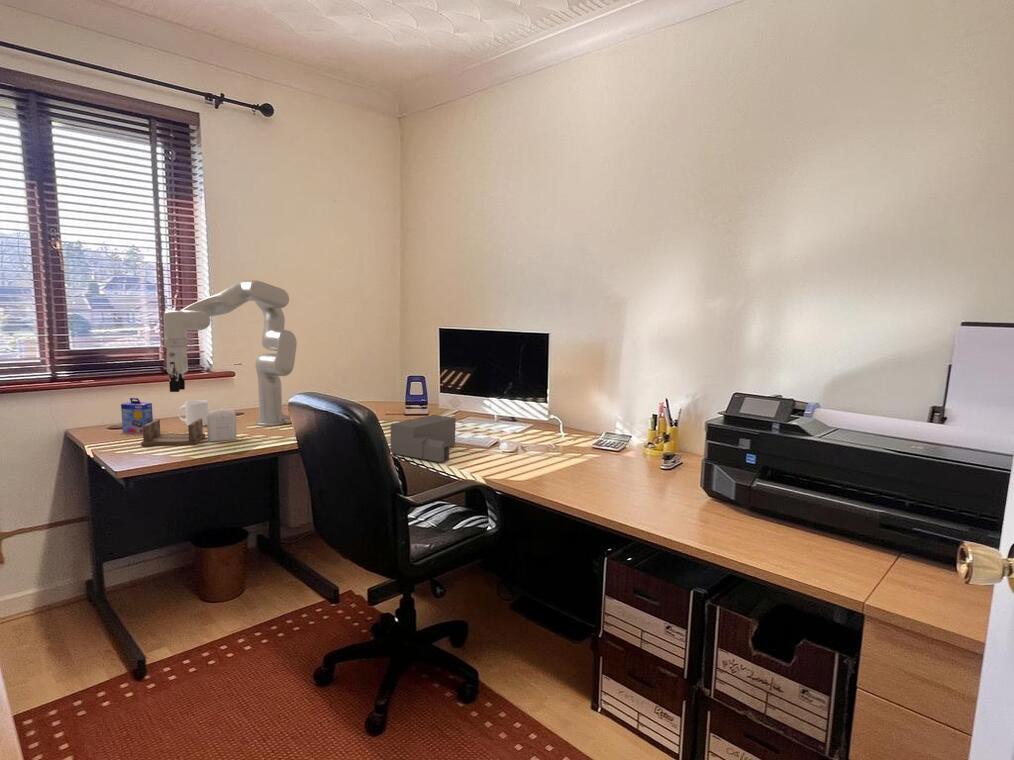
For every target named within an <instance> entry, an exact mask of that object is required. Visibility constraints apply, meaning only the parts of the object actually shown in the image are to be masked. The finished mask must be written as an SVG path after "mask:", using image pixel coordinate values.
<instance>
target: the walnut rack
mask: <svg viewBox="0 0 1014 760" xmlns="http://www.w3.org/2000/svg"><path fill="white" fill-rule="evenodd" d="M187 427H188V433H161V420H160V419H157V418H155V419H153V421H152V422H150V423H148V424H146V425H144V426H143V435H142V439H143V440H142V441H141V442H140V446H141V447H163V446H167V447H168V446H195V445H197V444H198V443H199V442H200V441H202V440H203V439H204V438H205V437H206V433H205V432H204V431H203V430H204V429H203V428H204V426H202V419H198V420H196V421H194V422H193V423H191V424H190V425H188V426H187Z"/></svg>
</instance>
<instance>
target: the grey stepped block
mask: <svg viewBox="0 0 1014 760" xmlns="http://www.w3.org/2000/svg"><path fill="white" fill-rule="evenodd" d="M456 422H457V421H456V417H451V416H445V415H437V414H431V415H427V416H423V417H422V416H421V417H417V418H413V419H407V420H403V421H398V422H394V423H390V453H391V452H392V454H395V455H396V454H397V455H402V456H406V457H411V458H414V459H415V458H416V459H421V460H427V461H432V462H436V463H443V462H446V461H448V460H450V447H454V446H456Z"/></svg>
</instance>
